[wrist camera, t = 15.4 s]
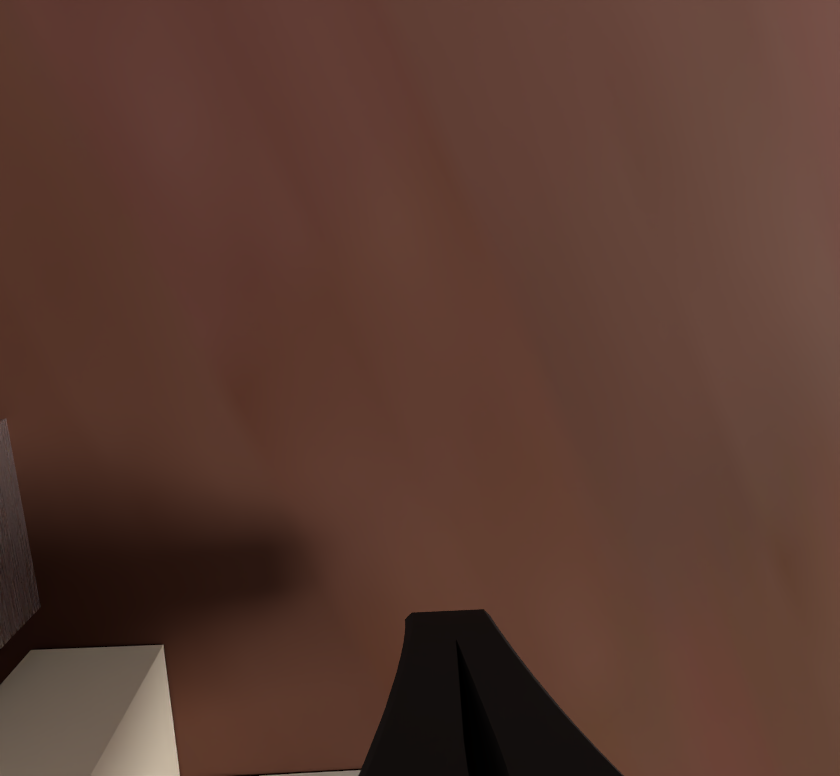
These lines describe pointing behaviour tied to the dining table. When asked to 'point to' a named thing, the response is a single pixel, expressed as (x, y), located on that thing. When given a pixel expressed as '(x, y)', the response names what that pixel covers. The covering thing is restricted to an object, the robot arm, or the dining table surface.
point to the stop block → (13, 550)
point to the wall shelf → (91, 715)
